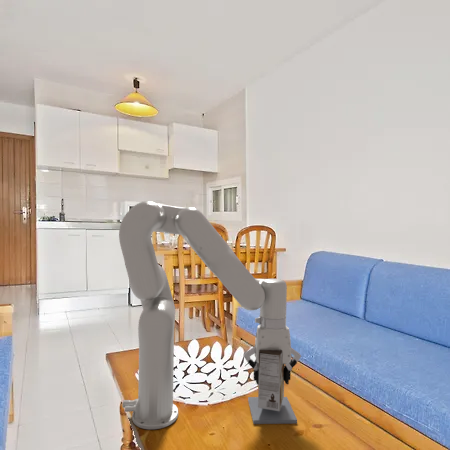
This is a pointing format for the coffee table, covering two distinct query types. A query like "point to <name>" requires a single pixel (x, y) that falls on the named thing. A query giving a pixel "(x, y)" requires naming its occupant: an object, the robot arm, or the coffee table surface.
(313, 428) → the coffee table surface
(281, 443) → the coffee table surface
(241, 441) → the coffee table surface
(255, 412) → the slate tile
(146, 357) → the robot arm
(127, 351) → the coffee table surface
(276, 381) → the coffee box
